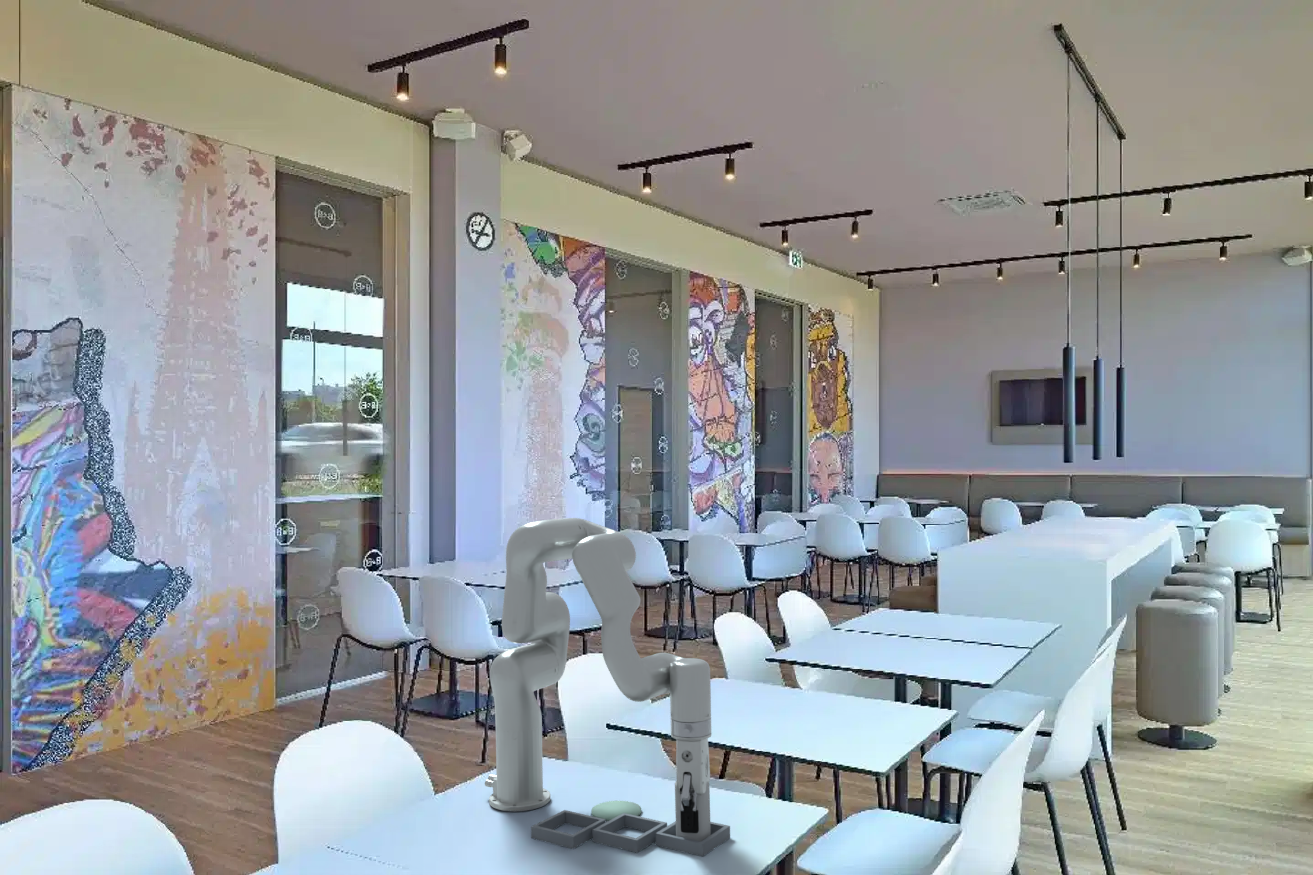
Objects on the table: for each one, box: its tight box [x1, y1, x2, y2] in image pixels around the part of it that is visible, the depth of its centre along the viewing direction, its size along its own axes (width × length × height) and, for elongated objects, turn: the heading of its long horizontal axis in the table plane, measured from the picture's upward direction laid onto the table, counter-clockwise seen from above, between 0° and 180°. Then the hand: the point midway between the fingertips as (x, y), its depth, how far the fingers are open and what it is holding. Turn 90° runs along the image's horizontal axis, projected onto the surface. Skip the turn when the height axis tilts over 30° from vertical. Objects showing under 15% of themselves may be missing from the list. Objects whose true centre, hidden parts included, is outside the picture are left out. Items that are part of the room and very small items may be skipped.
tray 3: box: [655, 820, 731, 857], centre depth 183 cm, size 10×10×2 cm
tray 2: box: [592, 813, 668, 853], centre depth 185 cm, size 10×10×2 cm
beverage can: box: [674, 780, 711, 842], centre depth 183 cm, size 6×6×12 cm
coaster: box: [590, 800, 642, 822], centre depth 198 cm, size 10×10×1 cm
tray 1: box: [530, 809, 607, 850], centre depth 187 cm, size 10×10×2 cm
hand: (693, 823), depth 183 cm, fingers closed on beverage can, 6 cm apart
